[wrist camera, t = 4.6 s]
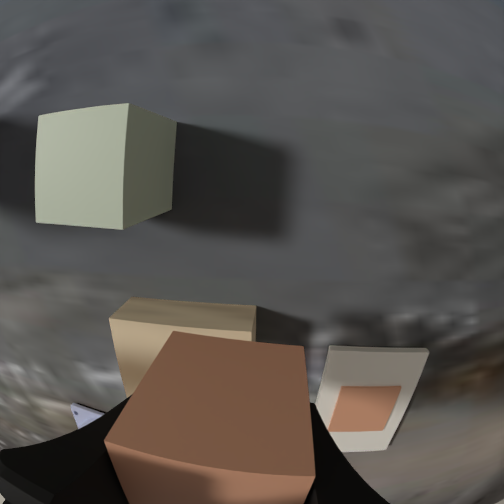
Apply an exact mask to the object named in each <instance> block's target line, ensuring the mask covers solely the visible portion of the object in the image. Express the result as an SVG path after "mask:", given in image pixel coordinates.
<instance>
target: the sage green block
mask: <svg viewBox="0 0 504 504" xmlns="http://www.w3.org/2000/svg"><path fill="white" fill-rule="evenodd" d="M176 128H177V122H176V121H173V120H171V119H168V118H166V117H163V116H161V115H158V114H156V113H153V112H151V111H148V110H145V109H143V108H140V107H138V106H135V105H132V104H129V103H126V104H115V105H106V106H97V107H89V108H82V109H75V110H68V111H62V112H56V113H51V114H45V115H40V116H39V118H38V128H37V141H36V159H35V212H36V223H48V224H60V225H73V226H85V227H97V228H109V229H120V230H123V229H126V228H128V227H130V226H133V225H135V224H138V223H140V222H142V221H145V220H147V219H150V218H152V217H155V216H157V215H159V214H162V213H164V212H167V211H169V210H172V190H173V170H174V154H175V140H176Z"/></svg>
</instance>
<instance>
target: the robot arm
mask: <svg viewBox="0 0 504 504" xmlns="http://www.w3.org/2000/svg"><path fill="white" fill-rule="evenodd" d="M131 396H132V395H130V396H129V397H128V398H126V399H125V400H124V401H123V402H121V403H120V404H118V405H117V406H116V407H114V408H113V409H111V410H110V411H109V412H107V413H102V412H99V411H96V410H93V409H90V408H87V407H84V406H81V405H79V404H76V403H72V405H71V410H72V413H73V415H74V418H75V421H76V423H77V426H78V430H76V431H73V432H71V433H69V434H66V435H63V436H61V437H58V438H55V439H53V440H50V441H46V442H43V443H39V444H35V445H30V446H25V447H19V448H12V449H2V450H1V451H0V493H1V495H2V496H3V497H4V498H5V501H4V502H3V504H129V502H128V500H127V497H126V495H125V493H124V491H123V488H122V486H121V484H120V481H119V479H118V476H117V474H116V472H115V469H114V466H113V464H112V461H111V459H110V456H109V453H108V450H107V448H106V445H105V442H104V440H105V438H106V436H107V435H108V433H109V431H110V430H111V428H112V426H113V425H114V423H115V422H116V420H117V418H118V417H119V415H120V414H121V412H122V410H123V409H124V407H125V406H126V404H127V402H128V401H129V399H130V398H131ZM310 413H311V424H312V436H313V449H314V462H315V479H314V481H313V483H312V486H311V488H310V490H309V492H308V495H307V497H306V499H305V501H304V503H303V504H390V503H388V502H387V501H386V500H385V499H384V498H382V497H381V496H380V495H379V494H378V493H377V492H376V491H374V490H373V489H372V488H371V487H370V486H369V485H368V484H367V483H366V482H365V481H364V480H363V479H362V478H361V476H360V475H359V474H358V473H357V472H356V471H355V470H354V468H353V467H352V466H351V465H350V463H349V462H348V461H347V459H346V458H345V456H344V455H343V454H342V452H341V451H340V449H339V448H338V446H337V445H336V443H335V441H334V440H333V438H332V436H331V435H330V433H329V431H328V430H327V428H326V426H325V424H324V422H323V420H322V418H321V416H320V414H319V412H318V409H317V407H316V405H315V404H314V403H310Z"/></svg>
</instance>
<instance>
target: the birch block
mask: <svg viewBox="0 0 504 504" xmlns="http://www.w3.org/2000/svg"><path fill="white" fill-rule="evenodd" d="M109 322H110V327H111V332H112V337H113V342H114V347H115V351H116V356H117V360H118V364H119V369H120V373H121V377H122V381H123V385H124V388H125V392H126V396H127V398H128V397H129V396H130V395H132V394H133V393H134V391H135V390H136V388H137V386H138V385H139V383H140V382H141V380H142V378H143V377H144V375H145V374H146V372H147V371H148V369H149V367H150V366H151V364H152V363H153V361H154V360H155V358H156V356H157V355H158V353H159V352H160V350H161V349H162V347H163V346H164V344H165V342H166V341H167V339H168V338H169V336H170V335H171V333H172V332H173V331H179V332H185V333H192V334H198V335H205V336H213V337H220V338H228V339H236V340H244V341H253V342H256V306H254V305H234V304H217V303H201V302H187V301H174V300H162V299H150V298H139V297H131V298H130V299H129V300H128V301H127V302H126V303H125V304H123V305H122V306H121V307H120V308H119V309H118V310H117V311H116V312H115V313H114V314H113V315H112V316H111V317H110V318H109Z"/></svg>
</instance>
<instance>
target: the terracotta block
mask: <svg viewBox="0 0 504 504" xmlns="http://www.w3.org/2000/svg"><path fill="white" fill-rule="evenodd" d="M104 442H105V445H106V448H107V450H108V453H109V456H110V459H111V461H112V464H113V466H114V469H115V472H116V474H117V476H118V479H119V481H120V484H121V486H122V488H123V491H124V493H125V495H126V497H127V500H128V502H129V504H303V503H304V501H305V499H306V497H307V495H308V492H309V490H310V488H311V486H312V483H313V481H314V479H315V462H314V449H313V436H312V424H311V413H310V402H309V392H308V382H307V372H306V363H305V354H304V346H295V345H283V344H272V343H263V342H253V341H244V340H236V339H228V338H220V337H213V336H205V335H198V334H192V333H185V332H179V331H173V332H172V333H171V335H170V336H169V338H168V339H167V341H166V342H165V344H164V346H163V347H162V349H161V350H160V352H159V353H158V355H157V356H156V358H155V360H154V361H153V363H152V364H151V366H150V367H149V369H148V371H147V372H146V374H145V375H144V377H143V378H142V380H141V382H140V383H139V385H138V386H137V388H136V390H135V391H134V393H133V394H132V396H131V398H130V399H129V401H128V402H127V404H126V406H125V407H124V409H123V410H122V412H121V414H120V415H119V417H118V418H117V420H116V422H115V423H114V425H113V426H112V428H111V430H110V431H109V433H108V435H107V436H106V438H105V440H104Z"/></svg>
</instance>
